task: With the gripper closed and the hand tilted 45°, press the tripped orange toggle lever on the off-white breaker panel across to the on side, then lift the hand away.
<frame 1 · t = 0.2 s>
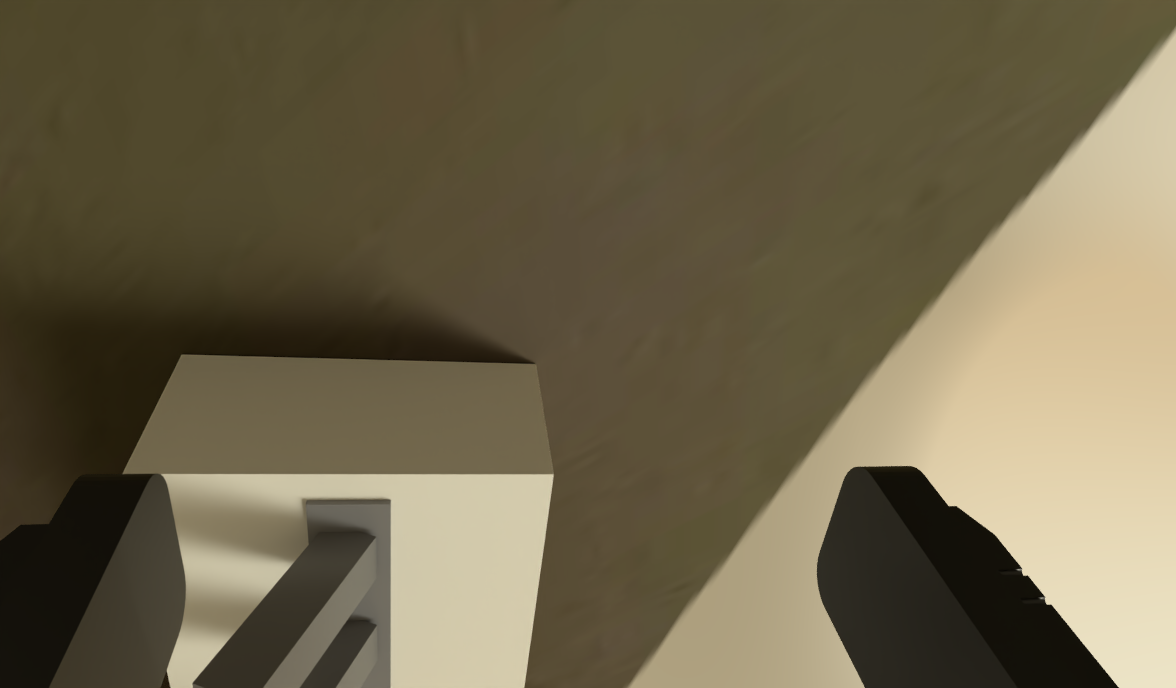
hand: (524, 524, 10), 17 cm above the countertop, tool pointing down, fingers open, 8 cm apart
breaker panel: (369, 577, 34), on the countertop
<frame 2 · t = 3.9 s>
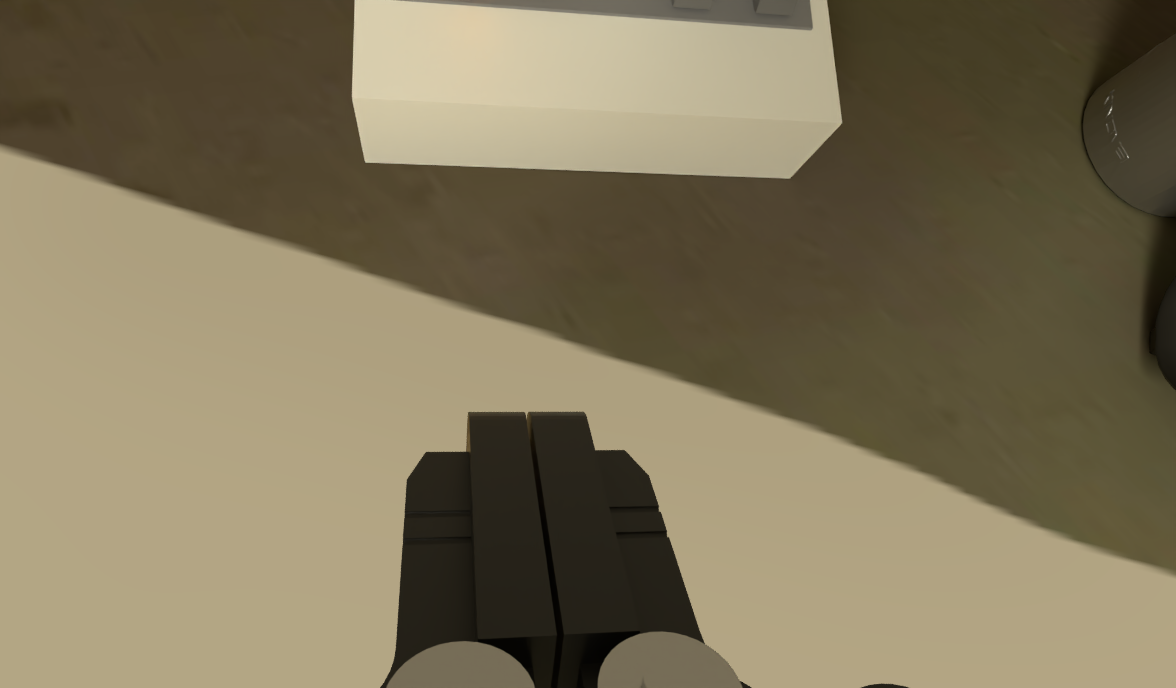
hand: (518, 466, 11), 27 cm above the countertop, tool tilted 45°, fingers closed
breaker panel: (582, 66, 43), on the countertop
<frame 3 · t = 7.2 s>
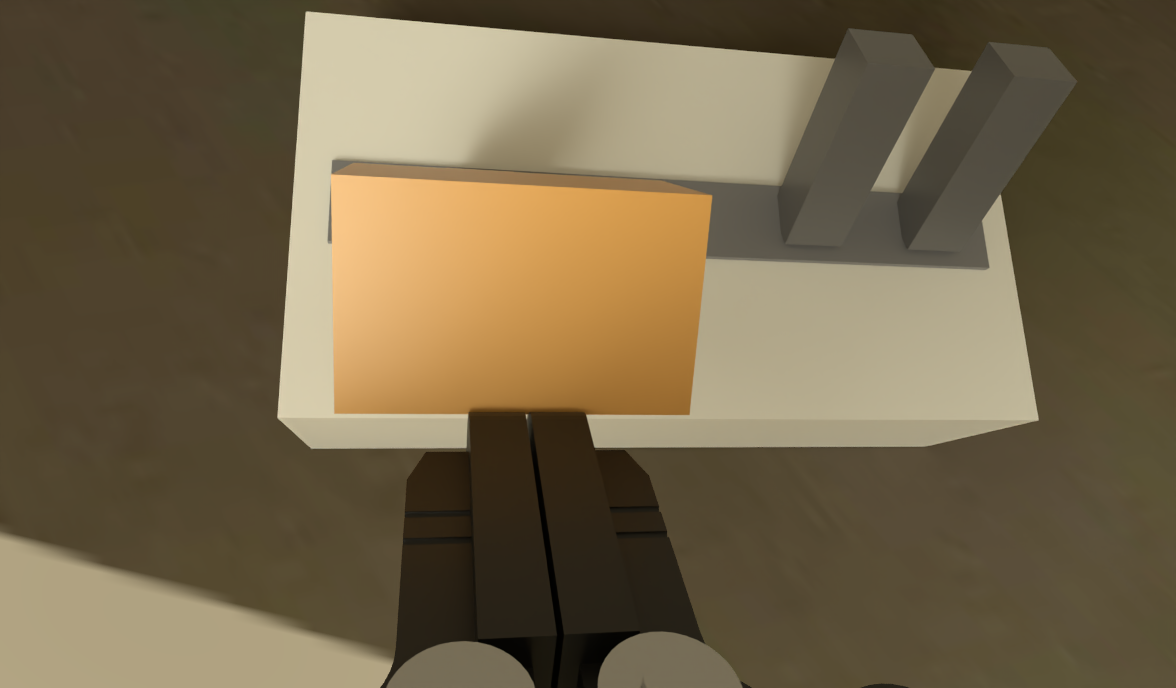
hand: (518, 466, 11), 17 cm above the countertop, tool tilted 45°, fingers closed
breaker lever: (492, 231, 16), point 13 cm above the countertop, hinge at -30.0°, touching gripper
breaker panel: (632, 284, 30), on the countertop
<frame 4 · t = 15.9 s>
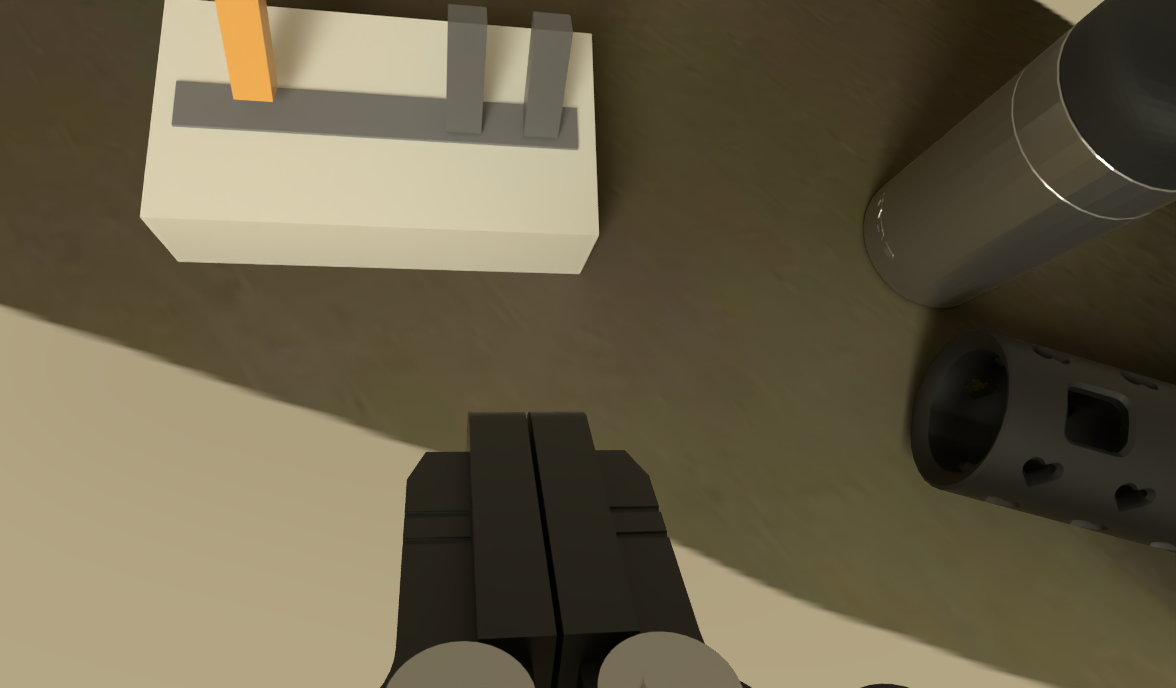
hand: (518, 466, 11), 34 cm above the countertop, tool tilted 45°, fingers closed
muzzle brake: (1102, 480, 51), on the countertop
breaker panel: (390, 170, 47), on the countertop
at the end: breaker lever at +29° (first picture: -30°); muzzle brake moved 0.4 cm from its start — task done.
